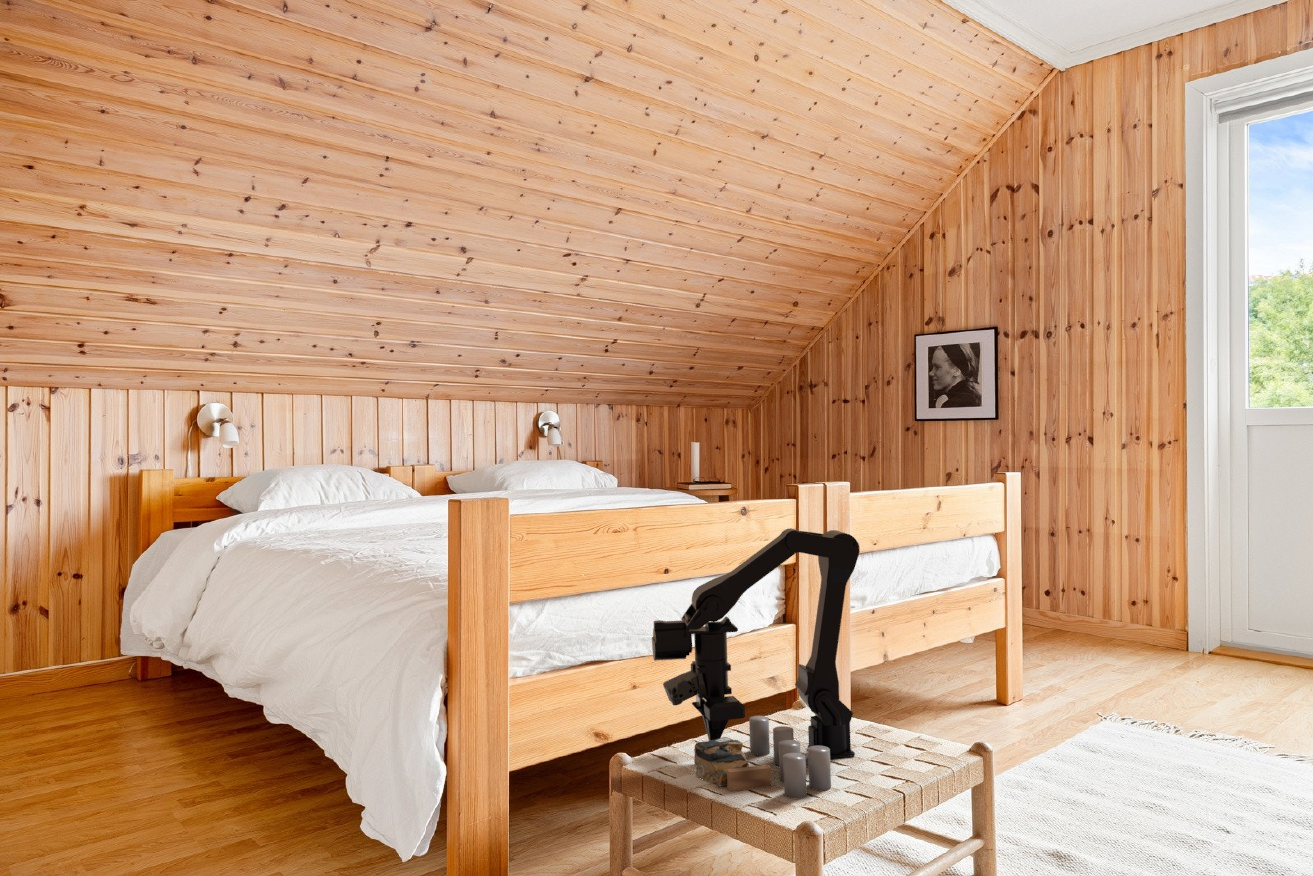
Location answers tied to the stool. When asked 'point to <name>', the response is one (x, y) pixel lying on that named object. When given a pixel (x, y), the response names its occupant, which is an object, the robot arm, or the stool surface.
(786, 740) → the spacers
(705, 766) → the rock
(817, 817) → the stool surface
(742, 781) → the bar
